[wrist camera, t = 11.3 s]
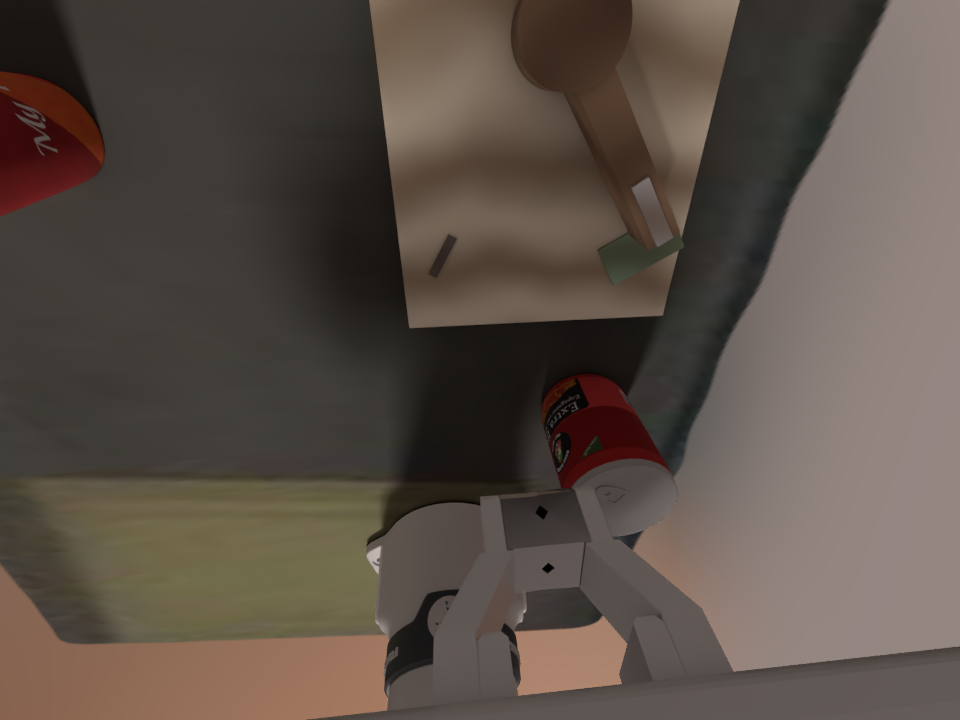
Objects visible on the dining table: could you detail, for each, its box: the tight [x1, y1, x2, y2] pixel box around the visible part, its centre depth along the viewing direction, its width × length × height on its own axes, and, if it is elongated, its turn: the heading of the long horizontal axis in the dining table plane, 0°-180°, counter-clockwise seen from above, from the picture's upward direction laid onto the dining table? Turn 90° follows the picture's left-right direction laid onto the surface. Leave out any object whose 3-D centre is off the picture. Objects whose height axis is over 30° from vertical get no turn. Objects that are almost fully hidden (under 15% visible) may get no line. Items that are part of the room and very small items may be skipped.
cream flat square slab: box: [369, 0, 740, 328], centre depth 27 cm, size 20×19×2 cm
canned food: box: [541, 374, 678, 536], centre depth 35 cm, size 8×8×11 cm
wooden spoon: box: [511, 0, 680, 251], centre depth 23 cm, size 14×5×4 cm, turn 34°
